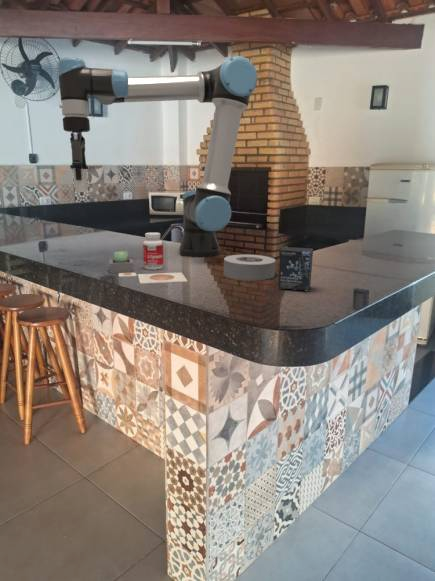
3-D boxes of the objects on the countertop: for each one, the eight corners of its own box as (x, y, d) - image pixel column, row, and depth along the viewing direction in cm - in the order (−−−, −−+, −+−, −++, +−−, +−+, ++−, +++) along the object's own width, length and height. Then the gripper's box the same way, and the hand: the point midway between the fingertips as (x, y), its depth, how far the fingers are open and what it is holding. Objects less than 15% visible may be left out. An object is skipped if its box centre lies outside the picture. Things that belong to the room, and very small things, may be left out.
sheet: (181, 273, 133) (181, 272, 133) (187, 281, 122) (187, 280, 122) (137, 275, 130) (137, 273, 130) (140, 284, 119) (140, 282, 119)
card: (135, 273, 132) (135, 272, 132) (136, 276, 128) (136, 275, 128) (118, 274, 131) (118, 272, 131) (118, 277, 127) (118, 275, 127)
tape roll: (285, 275, 132) (286, 259, 131) (252, 284, 121) (252, 266, 120) (246, 268, 142) (246, 252, 141) (212, 275, 132) (212, 258, 131)
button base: (132, 267, 140) (132, 258, 139) (133, 272, 133) (133, 262, 133) (110, 268, 138) (109, 259, 138) (109, 273, 132) (109, 263, 131)
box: (277, 289, 115) (279, 249, 112) (281, 284, 120) (283, 246, 117) (308, 292, 113) (311, 251, 110) (310, 287, 118) (313, 248, 115)
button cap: (127, 263, 138) (127, 251, 137) (128, 266, 134) (127, 253, 133) (114, 264, 137) (114, 251, 136) (114, 266, 133) (114, 253, 132)
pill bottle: (146, 270, 136) (145, 235, 133) (141, 267, 142) (140, 232, 139) (165, 269, 138) (165, 234, 136) (160, 265, 144) (159, 231, 141)
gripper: (67, 121, 141) (73, 189, 146) (56, 111, 117) (64, 192, 123) (91, 122, 142) (96, 189, 148) (86, 111, 119) (92, 192, 124)
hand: (82, 191), depth 135 cm, fingers open, 13 cm apart
